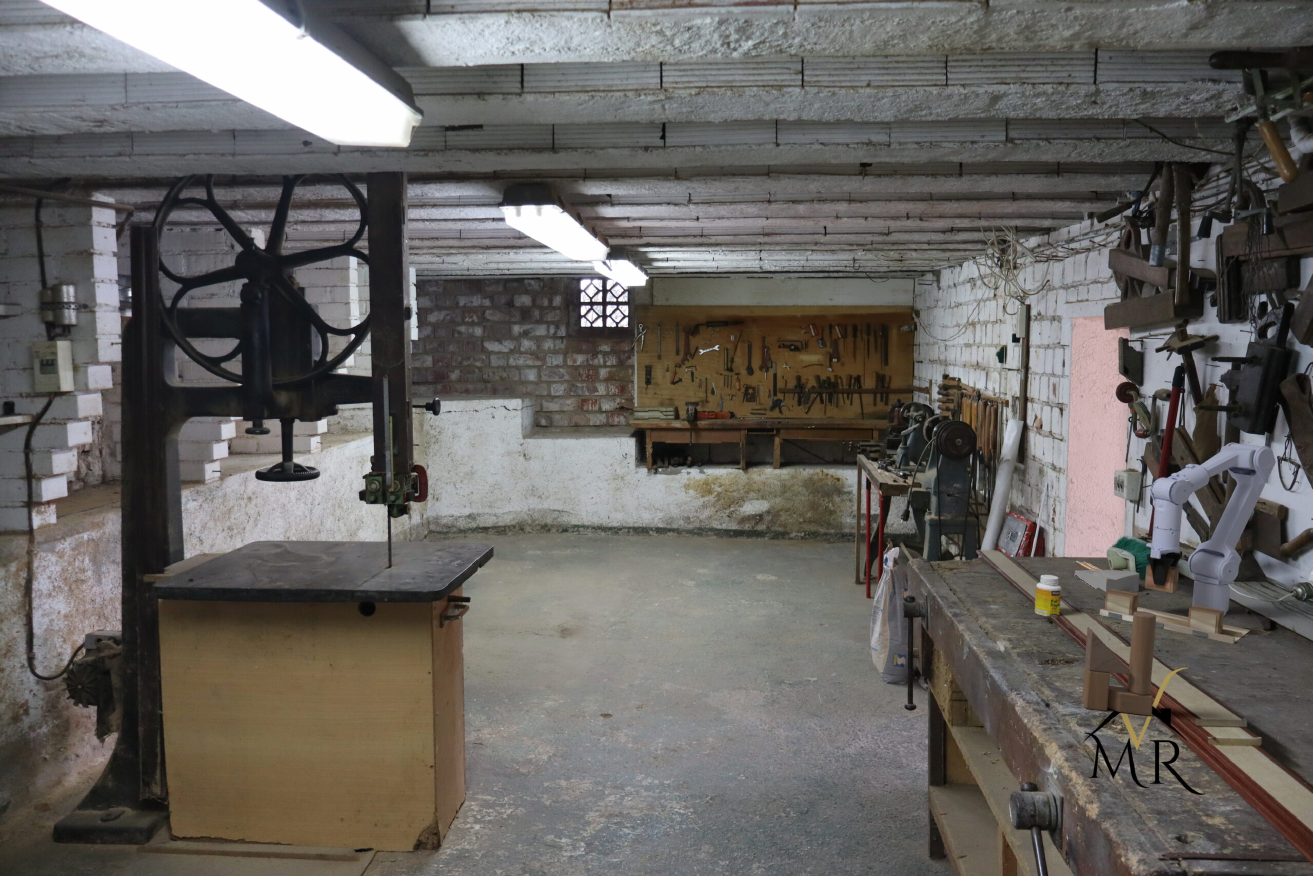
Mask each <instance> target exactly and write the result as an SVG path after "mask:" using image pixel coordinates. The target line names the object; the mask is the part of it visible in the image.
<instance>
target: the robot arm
mask: <svg viewBox="0 0 1313 876" xmlns="http://www.w3.org/2000/svg"><path fill="white" fill-rule="evenodd" d="M1275 466H1276V459H1275V455H1274V452H1273V449H1271V447H1269V446H1268V445H1262V446H1260V445H1255V444H1254V445H1251V444H1244V443H1237V442H1229V443H1227V444H1226V445H1224V446H1222V447H1221V449H1220V451H1219V452H1218V453H1217V454H1215V455H1213V456H1212V457H1210V458H1209V459H1208V460H1206V461H1205V462H1203V463H1201V464H1196V463H1195V464H1194V463H1189V464H1186V465H1185V468H1182V469H1181V470H1180V471H1178V472H1174V473H1171V475H1170V476H1168V477H1159V478H1158V479H1156V480H1155V481H1153V483H1152V485H1151V488H1149V494H1150V496H1151V498H1152V505H1153V507H1154V512H1153V525H1152V538H1151V539H1152V540H1151V542H1146V545H1145V546H1146V548H1150V553H1148V554H1146V560H1147V562H1148V563H1149V564H1150V566H1151V570H1152V576H1153V581H1154V584H1155V585H1161V586H1164V585H1165V582H1166V579H1167V574H1168V571H1169V568H1170V566H1171V567H1177V565H1178V563H1179V562H1180V561H1181V559H1182V558H1183V554H1182V553H1180V550H1181V547H1180V539H1181V528H1182V527H1181V526H1182V515H1183V504H1185V503H1187V501H1188V500H1189V498H1190V496H1191V495H1193V493H1194V492H1196V491H1198V490H1200V489H1202V488H1204V487H1206V485H1208V484H1209V482H1210V478H1212V477H1213V476H1216V475H1218V474H1221V473H1222V472H1225V471H1228V473H1229V474H1230V477H1231V478H1232V479H1234V480H1235V481H1236V486H1235V488H1234V491H1233V492H1232V494H1231V497H1230V499H1229V501H1228V502H1227V505H1226V506H1225V509H1224V511H1223V513H1222V516H1221V517H1220V520H1219V522H1218V523H1217V526H1216V527H1215V530H1214V531H1213V534H1212V536H1211V538H1210V539H1209V540H1207V541H1204V542H1201V543H1199V544H1198V545H1197V547H1196V549H1195V550H1194V551H1193V552H1192V553H1191V554H1190V555H1189V557H1188V559H1187V569H1188V572H1189V573H1191V578H1192V579H1194V583H1193V593H1192V604H1191V607H1192V606H1194V605H1197V606H1202V607H1207V608H1212V609H1218V610H1223V611H1224V616H1226V615H1227V612H1228V611H1229V609H1230V608H1229V607H1230V606H1229V605H1230V596H1231V595H1230V594H1231V590H1230V585H1232V583H1233V582H1234V581H1235V580H1236V579H1237V577H1238V574H1239V567H1240V564H1241V562H1242V558H1241V556H1240V554H1239V553H1238V551H1237V550H1236V547H1237V544H1238V542H1239V540H1240V538H1241V536H1242V534H1243V532H1244V530H1245V529H1246V525H1247V524H1248V521H1249V520H1250V517H1251V515H1252V513H1253V511H1254V509H1255V507H1256V505H1257V503H1258V500H1259V498H1260V496H1261V495H1262V494H1263V493H1262V492H1263V490H1264V488H1265V485H1266V483H1267V482H1268V480H1269V478H1270V475H1271V473H1272V472H1273V470H1274V467H1275ZM1149 564H1148V565H1149Z"/></svg>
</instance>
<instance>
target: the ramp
mask: <svg viewBox="0 0 1313 876" xmlns="http://www.w3.org/2000/svg"><path fill="white" fill-rule="evenodd" d="M1075 575H1077V576H1078V577H1079V578H1080V579H1082V580H1084V581H1085V582H1086V583H1088V584H1089V585H1091V586H1092V587H1094V588H1095V589H1094V590H1096V589H1100V590H1102V591H1103V592H1105V593H1106V591H1109V590H1111V589H1115V590H1120V591H1125V590H1126V591H1128V592H1129V591H1130V592H1133V593H1136V592H1135V591H1138V592H1139V586H1140V573H1139V572H1136V571H1130V570H1129V571H1128V570H1120V569H1119V570H1117V569H1098V570H1097V569H1095V570H1094V569H1093V568H1091V570H1090V569H1084V570H1083V569H1081V570H1074V576H1075ZM1086 583H1085V584H1086ZM1089 585H1088V586H1089ZM1092 587H1091V588H1092Z"/></svg>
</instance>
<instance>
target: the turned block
mask: <svg viewBox="0 0 1313 876" xmlns="http://www.w3.org/2000/svg"><path fill="white" fill-rule="evenodd" d="M1179 573H1180V567H1177V566H1176V567H1171V566H1170V568H1169V571H1168V574H1167V579H1166V582H1165V585H1164V586H1161V585H1155V584H1154V581H1153V576H1152V570H1151V566H1150V564H1148V565H1146V569H1145V579H1144V580H1145V582H1144V588H1145V589H1148V590H1155V591H1159V592H1166V593H1170V594H1173V593H1174V592H1176V591H1178V588H1179V586H1178V585H1179Z"/></svg>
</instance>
